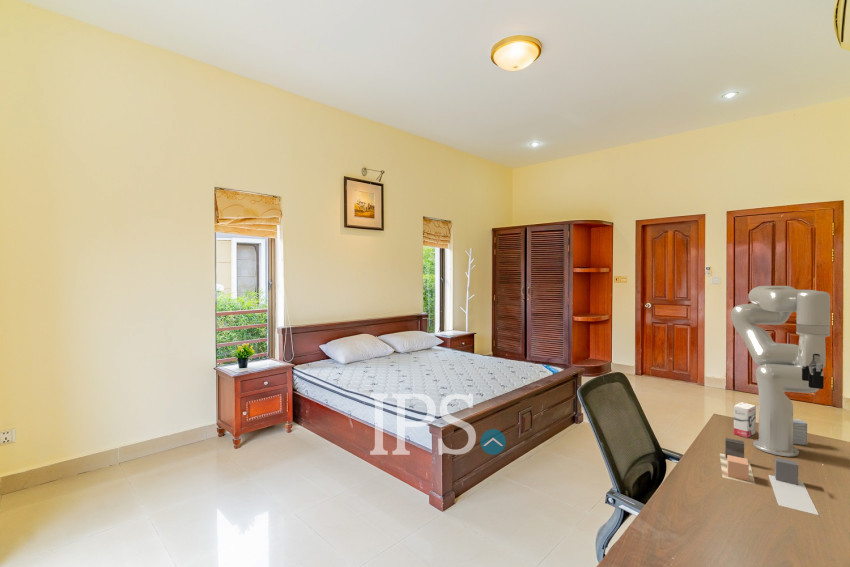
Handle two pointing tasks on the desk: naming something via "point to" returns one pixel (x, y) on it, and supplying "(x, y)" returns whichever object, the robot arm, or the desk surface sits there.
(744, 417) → the ink box
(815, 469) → the desk surface
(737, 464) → the cube
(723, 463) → the cube strip
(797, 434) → the medicine box
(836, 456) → the desk surface
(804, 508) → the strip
